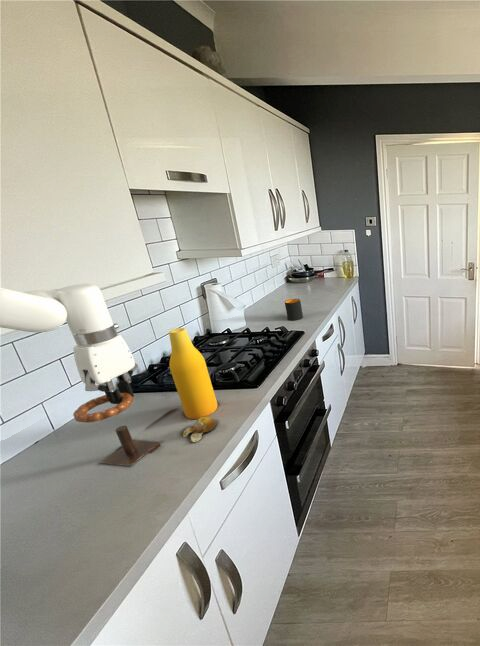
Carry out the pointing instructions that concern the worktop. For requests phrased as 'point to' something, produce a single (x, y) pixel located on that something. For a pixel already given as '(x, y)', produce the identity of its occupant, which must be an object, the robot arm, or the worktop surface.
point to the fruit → (200, 428)
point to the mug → (293, 309)
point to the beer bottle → (191, 376)
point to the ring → (83, 409)
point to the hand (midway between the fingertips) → (122, 399)
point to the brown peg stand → (129, 449)
